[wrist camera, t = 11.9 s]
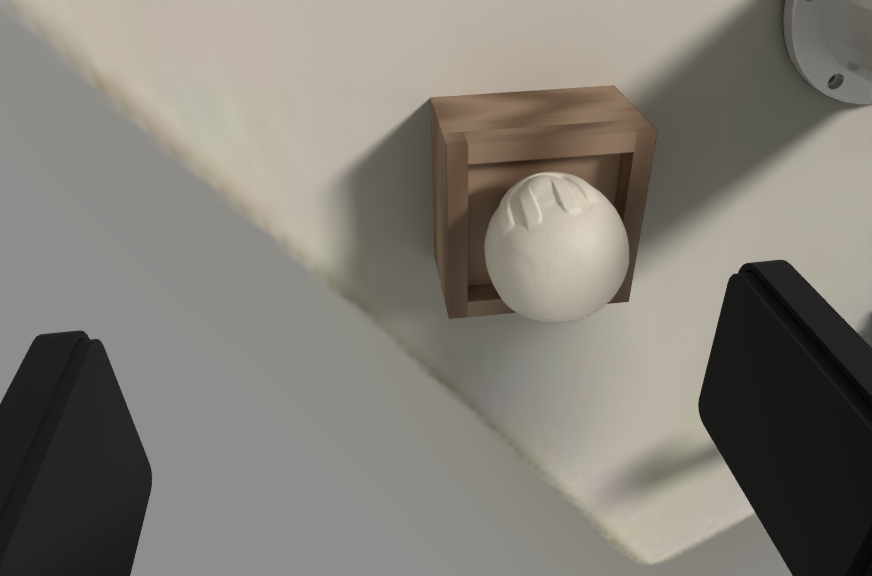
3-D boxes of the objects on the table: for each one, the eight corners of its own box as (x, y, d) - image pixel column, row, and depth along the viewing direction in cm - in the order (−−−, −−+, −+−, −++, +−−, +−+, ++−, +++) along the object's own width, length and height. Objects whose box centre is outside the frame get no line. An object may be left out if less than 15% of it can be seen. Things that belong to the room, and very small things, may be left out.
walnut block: (612, 83, 39) (657, 130, 34) (593, 240, 45) (628, 301, 40) (429, 95, 38) (446, 146, 33) (434, 254, 44) (449, 318, 39)
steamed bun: (587, 132, 35) (636, 183, 29) (611, 255, 39) (659, 322, 33) (456, 175, 36) (479, 234, 30) (492, 294, 39) (519, 367, 34)
